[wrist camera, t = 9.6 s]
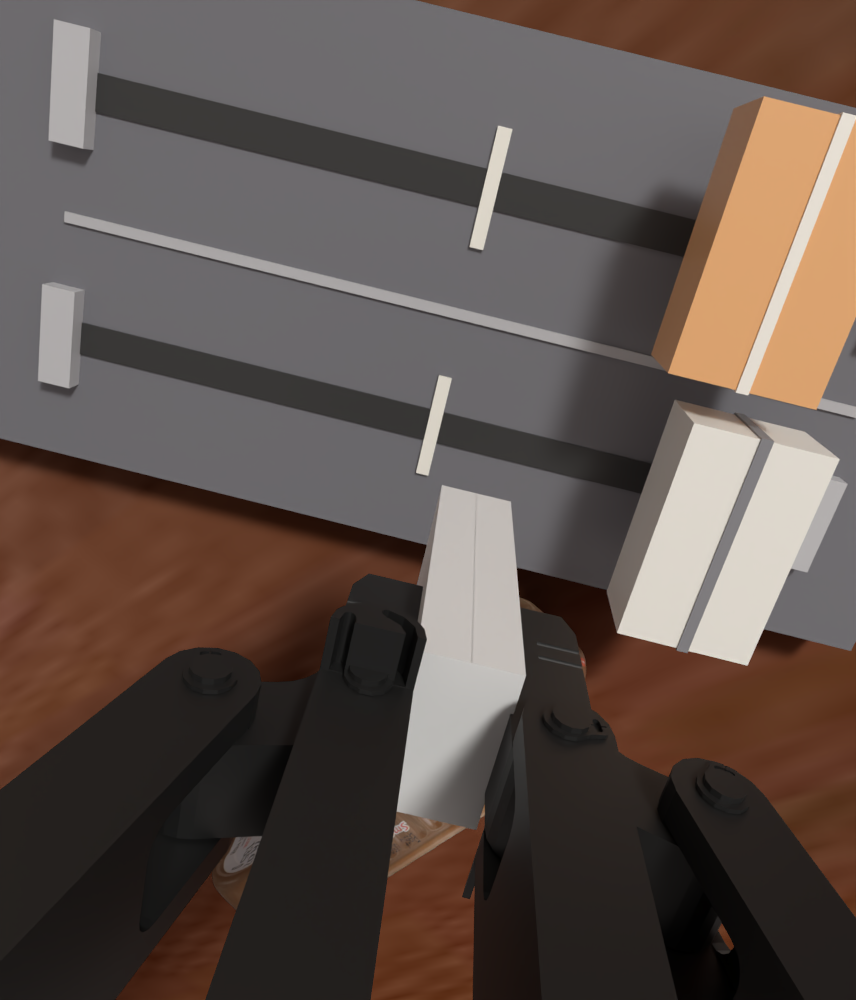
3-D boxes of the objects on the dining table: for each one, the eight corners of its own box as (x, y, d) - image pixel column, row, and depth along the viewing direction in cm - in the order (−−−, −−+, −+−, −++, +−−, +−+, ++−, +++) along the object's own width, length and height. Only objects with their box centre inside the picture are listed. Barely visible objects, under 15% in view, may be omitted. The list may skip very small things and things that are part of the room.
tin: (299, 811, 33) (235, 1000, 25) (245, 763, 33) (161, 941, 25) (582, 606, 29) (610, 760, 21) (525, 546, 28) (531, 680, 20)
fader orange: (639, 343, 23) (667, 375, 19) (713, 114, 21) (765, 93, 16) (760, 373, 23) (816, 412, 19) (848, 147, 21) (934, 134, 16)
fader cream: (599, 564, 25) (616, 635, 21) (662, 381, 23) (695, 421, 19) (708, 591, 25) (747, 668, 21) (782, 411, 23) (841, 457, 19)
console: (1, 414, 28) (-47, 435, 26) (14, -84, 23) (-45, -118, 20) (828, 620, 28) (858, 660, 25) (1044, 168, 22) (1110, 165, 20)
